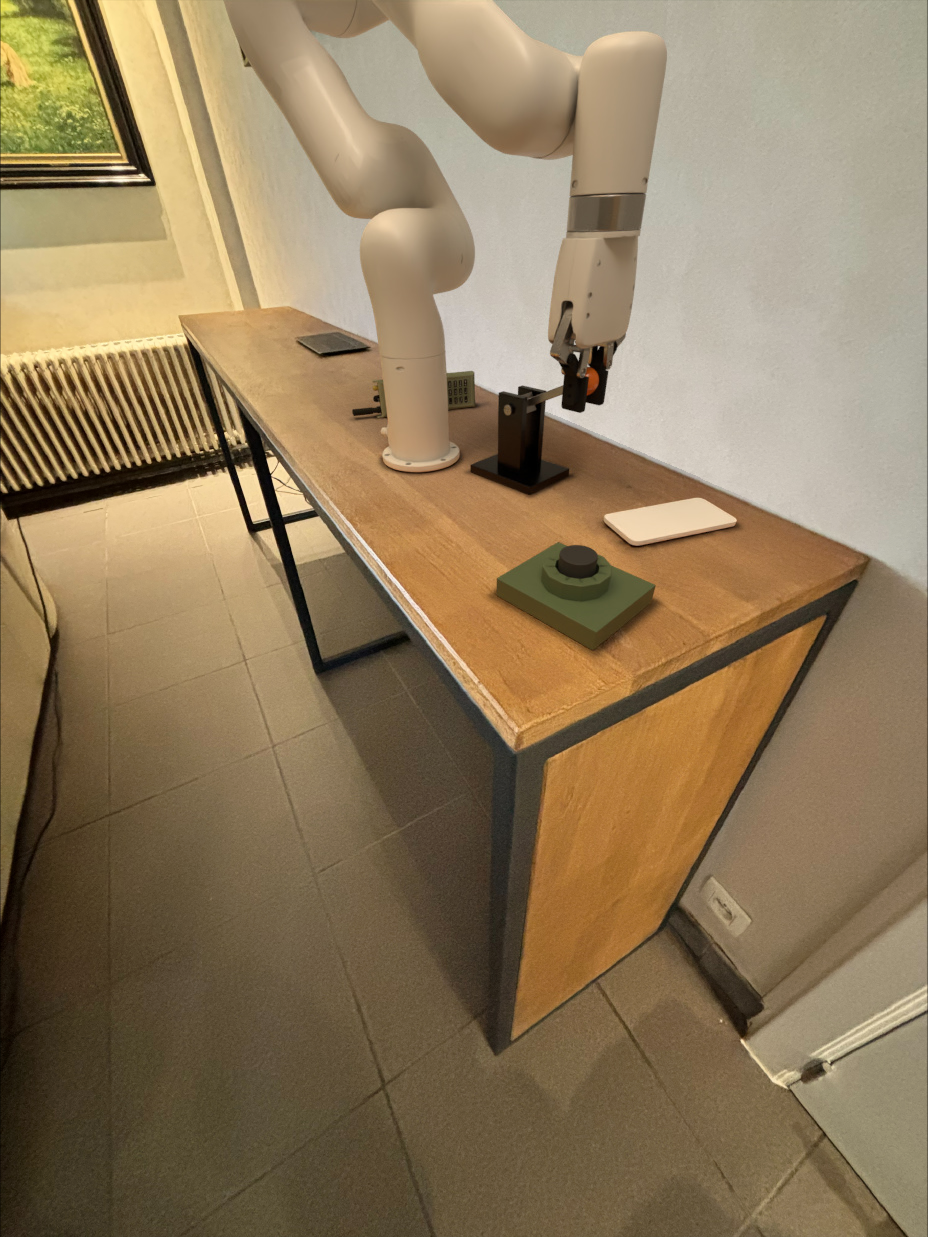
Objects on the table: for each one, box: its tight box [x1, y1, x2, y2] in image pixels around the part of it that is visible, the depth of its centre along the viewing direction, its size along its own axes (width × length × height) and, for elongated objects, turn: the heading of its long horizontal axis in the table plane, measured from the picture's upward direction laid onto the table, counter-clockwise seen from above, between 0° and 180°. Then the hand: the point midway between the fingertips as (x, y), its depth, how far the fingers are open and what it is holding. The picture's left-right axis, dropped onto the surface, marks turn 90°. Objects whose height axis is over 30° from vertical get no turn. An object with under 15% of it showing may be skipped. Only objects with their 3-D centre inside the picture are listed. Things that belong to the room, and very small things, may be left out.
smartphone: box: [603, 497, 737, 546], centre depth 62 cm, size 7×1×15 cm
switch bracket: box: [469, 385, 570, 496], centre depth 72 cm, size 12×9×12 cm
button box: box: [495, 541, 656, 651], centre depth 49 cm, size 12×10×4 cm
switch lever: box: [521, 366, 599, 413], centre depth 65 cm, size 14×3×3 cm, turn 44°
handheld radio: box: [351, 370, 476, 419], centre depth 99 cm, size 7×3×25 cm
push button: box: [558, 544, 599, 579], centre depth 48 cm, size 4×4×2 cm
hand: (582, 405), depth 62 cm, fingers closed on switch lever, 3 cm apart
